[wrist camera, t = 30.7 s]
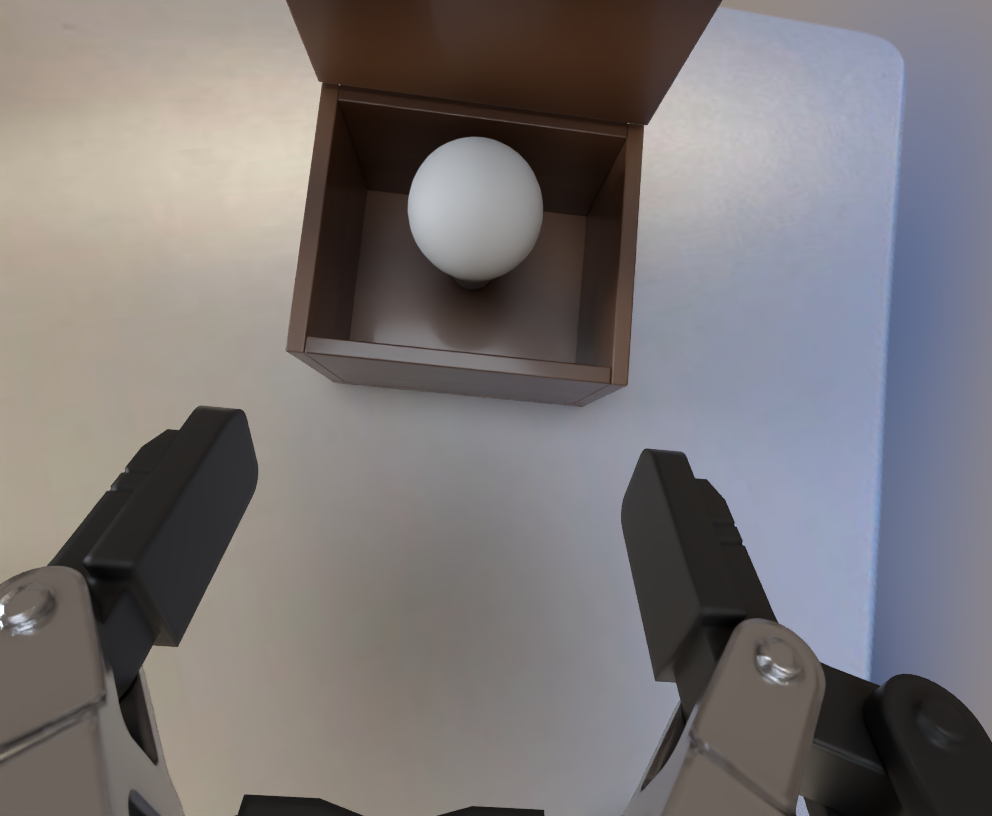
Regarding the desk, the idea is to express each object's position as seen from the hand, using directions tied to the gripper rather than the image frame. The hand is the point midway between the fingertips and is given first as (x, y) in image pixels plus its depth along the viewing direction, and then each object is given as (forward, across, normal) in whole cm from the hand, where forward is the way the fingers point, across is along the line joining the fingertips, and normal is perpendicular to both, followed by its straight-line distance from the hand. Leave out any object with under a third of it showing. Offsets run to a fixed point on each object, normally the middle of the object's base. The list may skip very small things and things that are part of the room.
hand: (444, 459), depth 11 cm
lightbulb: (+22, 0, +6) cm, 23 cm away
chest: (+22, 0, +7) cm, 23 cm away
